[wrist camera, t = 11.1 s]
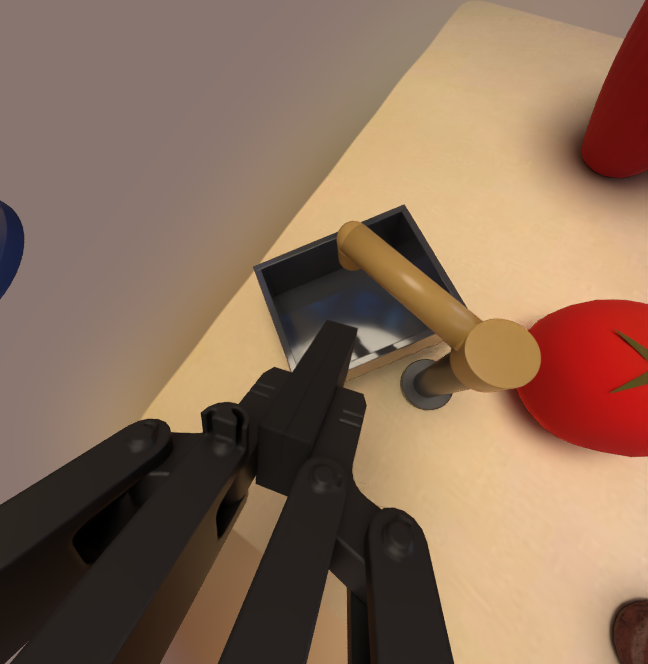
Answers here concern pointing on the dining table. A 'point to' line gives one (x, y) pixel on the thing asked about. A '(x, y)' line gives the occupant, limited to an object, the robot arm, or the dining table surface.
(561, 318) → the tomato
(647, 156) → the vase
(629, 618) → the can
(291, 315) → the sink
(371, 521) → the robot arm
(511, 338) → the faucet spout
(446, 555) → the dining table surface
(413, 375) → the faucet base
